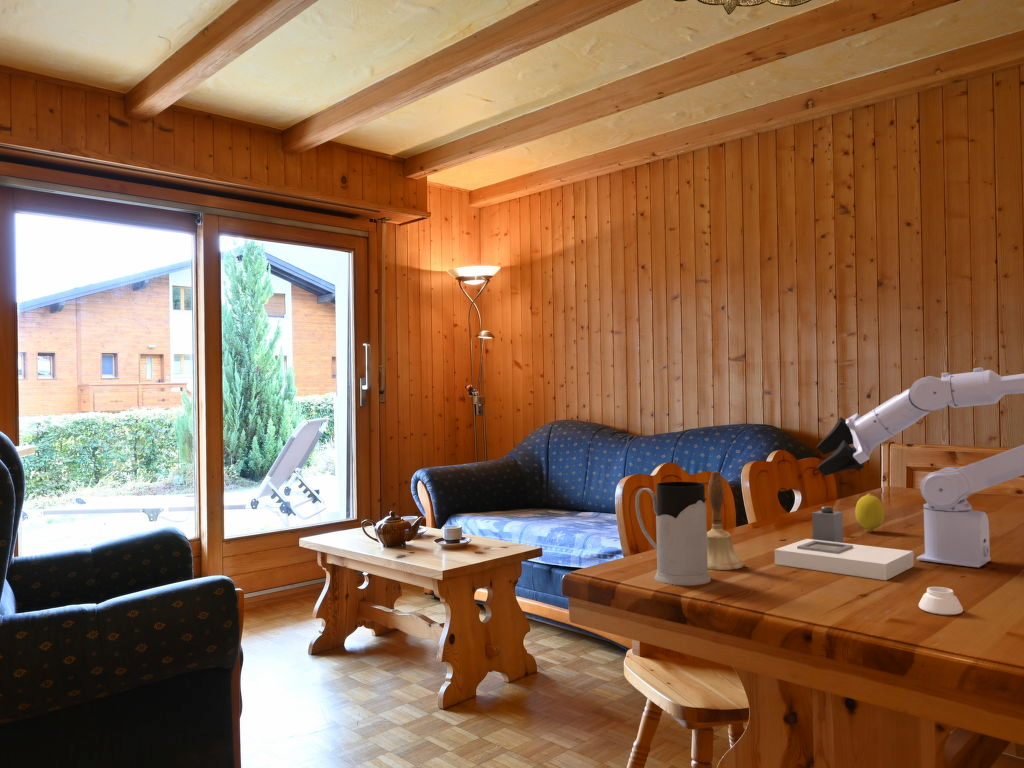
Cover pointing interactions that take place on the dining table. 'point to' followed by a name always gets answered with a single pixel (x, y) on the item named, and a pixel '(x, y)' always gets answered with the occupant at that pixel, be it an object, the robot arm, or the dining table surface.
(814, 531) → the plug
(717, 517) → the hand bell
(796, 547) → the socket board
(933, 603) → the white upside-down bowl
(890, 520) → the dining table surface
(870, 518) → the lemon
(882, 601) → the dining table surface
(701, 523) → the glass holder
